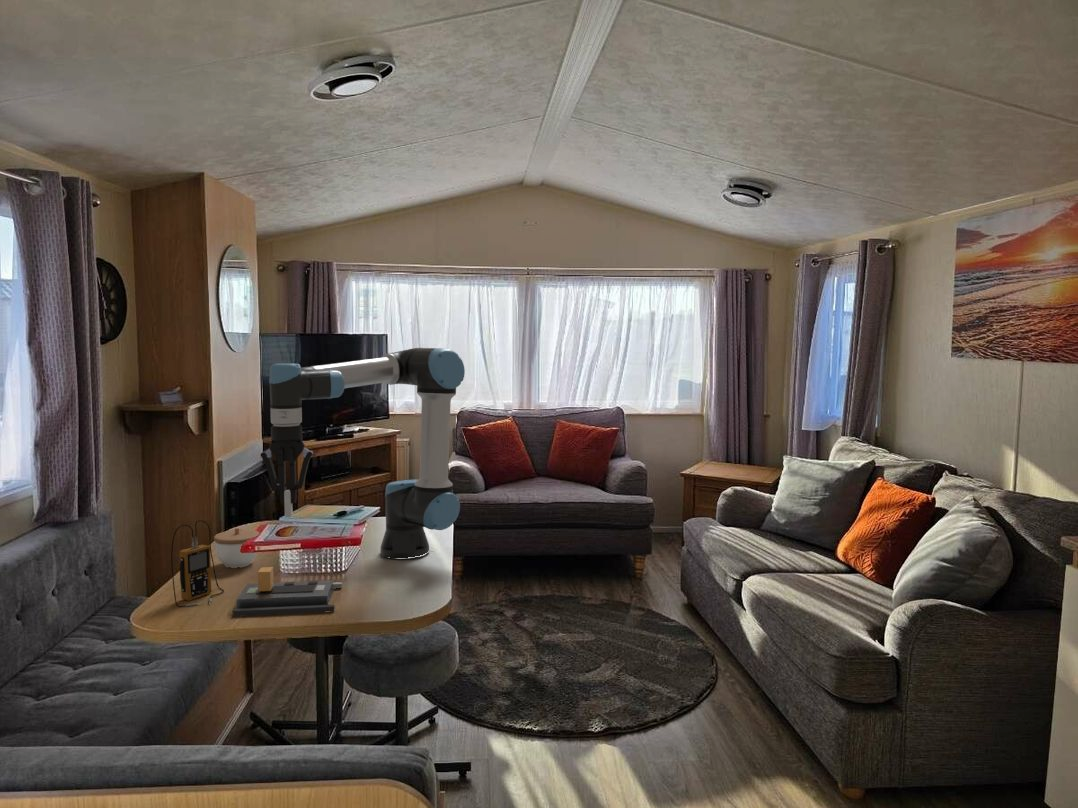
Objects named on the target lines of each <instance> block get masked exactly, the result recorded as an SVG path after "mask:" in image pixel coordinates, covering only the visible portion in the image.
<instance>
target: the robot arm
mask: <svg viewBox="0 0 1078 808" xmlns="http://www.w3.org/2000/svg"><path fill="white" fill-rule="evenodd" d="M465 371H466V370H465V364H464V361H463V359H462V358H461V357H460V355H459V354H458V353H457V352H456V351H454V350H453V349H448V348H442V347H438V348H437V347H436V348H435V347H413V348H409V349H404V350H399V351H395V352H389V353H384V354H383V355H382V356H381V357H375V358H369V359H368V358H366V359H358V360H351V361H342V362H336V363H335V362H334V363H326V364H320V365H319V364H318V365H311V366H304V367H302V366H301V365H300V364H299V363H293V362H291V363H273V364H272V365H271V366H270V367H269V380H268V383H269V396H270V397H269V398H270V401H269V402H270V423H271V425H272V426H271V427H270V437H271V438H270V440H271V441H270V444H269V446H268V449H266V450H264V451H262V452H261V453H260V454H259V455H260V457H261V459H262V460H263V462H264V464H265V468H266V471H267V475H268V478H269V482H270V485H271V488H272V489H273V490H277V491H278V492H279V503H280V504H281V505H283V507H284V518H291V517H292V516H293V515H294V514H293V511H294V510H293V504H296V502H297V491H298V490H301V489H302V488H303V487H304V485H305V481H306V476H307V471H308V468H309V467H308V466H309V464H310V460H311V458H312V456H314V450H309V449H308V448H306V447H305V444H304V442H303V426H302V424H301V423H303V412H302V411H303V409H302V403H303V402H302V401H307V400H324V399H326V400H327V399H328V400H330V399H331V400H332V399H333V398H334V399H335V398H339V397H341V396H342V395H343V393H344V392H345V389H348V388H355V387H356V388H357V387H363V386H369V385H370V386H371V385H376V384H378V385H379V384H382V383H383V384H384V383H386V384H387V385H389V386H391V385H411V386H416V394H417V395H418V396H419V397H420V398H421V414H420V415H421V417H420V421H421V422H420V447H419V448H420V449H419V478H418V479H406V480H397V481H396V480H395V481H391V482H389V483H387V484H386V486H385V492H384V493H385V494H384V497H385V531H384V534H383V538H382V541H381V543H380V544H381V545H380V555H381V556H382V555H383V556H384V557H383V556H382V557H383V558H385V557H390V558H408V557H415V556H420V555H423V554H425V553H427V552H428V551H429V552H430V544H429V541H428V538H427V535H426V532H425V529H424V528H426V529H428V530H431V531H432V530H433V531H434V530H435V531H445V530H447V529H448V528H450V527H451V526H452V525H453V523H454V522H456V520H457V518H458V517H459V514H460V510H461V503H460V500H459V498H458V496H457V495H456V494H455V493H454V492H453V490H454V489H453V488H454V486H453V485H454V483H453V482H452V481H451V480H450V479H449V463H450V462H449V460H450V459H449V458H450V433H451V432H450V430H451V429H450V428H451V401H452V399H453V398H454V397H455V396H456V394H457V388H458V387H459V386H460V385H461V384H462V382H463V381H464V379H465ZM272 454H273V456H274V457H275V459H277V461H278V476H277V474H276V470H275V466H274V463H273V459H272V457H273V456H272ZM301 454H302V457H303V460H302V463H301V469H300V473H299V478H298V481H297V459H298V458H299V456H300V455H301ZM287 461H288V465H289V489H287V488H288V487H287V474H286V473H287V470H286V469H287V468H286V465H287V464H286V463H287ZM277 477H278V478H277Z"/></svg>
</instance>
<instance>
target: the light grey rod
mask: <svg viewBox="0 0 1078 808" xmlns="http://www.w3.org/2000/svg"><path fill="white" fill-rule="evenodd" d="M336 588H342V589H343V582H341V581H340V582H339V581H338V582H337V581H336V582H334V581H333V590H337V589H336Z"/></svg>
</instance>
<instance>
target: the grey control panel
mask: <svg viewBox="0 0 1078 808" xmlns="http://www.w3.org/2000/svg"><path fill="white" fill-rule="evenodd" d="M333 583H334V580H310V581H307V580H306V581H285V582H282V581H281V582H274V586H273V588H272V589H271V591H258V582H256V583H246V585H245V587H243V589H242V591H241V592H240V593H239V594H238V596H237V598H236V600H235V601H236V609H245V608H268V607H292V606H315V605H329V604H330V602H329V601H331V599H332V596H333V592H334V589H333ZM331 595H332V596H331ZM330 598H331V599H330ZM328 603H329V604H328Z"/></svg>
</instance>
